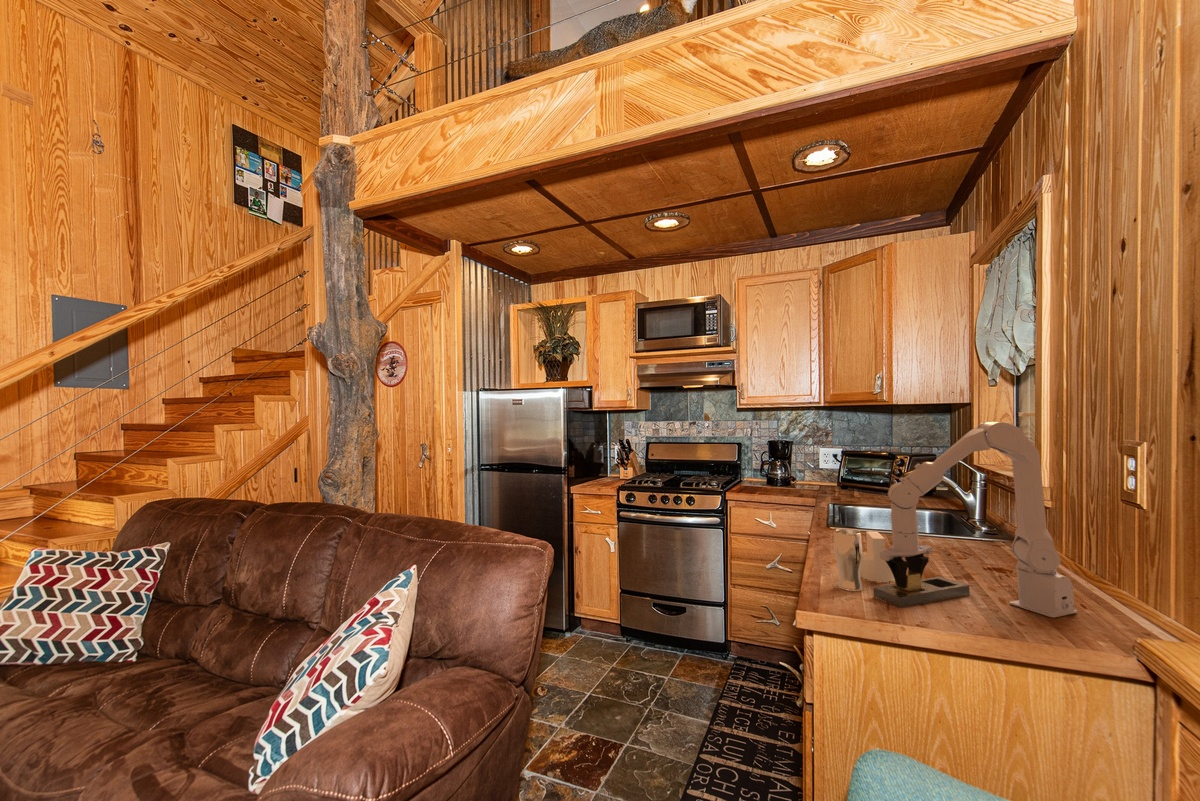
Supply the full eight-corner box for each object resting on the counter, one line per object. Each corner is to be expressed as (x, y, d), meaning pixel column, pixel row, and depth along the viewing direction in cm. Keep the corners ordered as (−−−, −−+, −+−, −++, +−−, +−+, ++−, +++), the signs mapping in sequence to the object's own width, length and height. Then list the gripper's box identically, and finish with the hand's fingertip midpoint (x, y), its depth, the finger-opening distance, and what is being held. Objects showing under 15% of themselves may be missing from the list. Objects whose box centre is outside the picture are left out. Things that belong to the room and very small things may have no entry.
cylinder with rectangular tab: (899, 583, 142) (897, 538, 143) (863, 581, 145) (861, 538, 145) (891, 573, 151) (888, 531, 151) (857, 572, 153) (854, 531, 154)
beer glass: (830, 586, 142) (827, 530, 143) (850, 582, 145) (846, 527, 145) (850, 593, 136) (847, 535, 136) (871, 589, 138) (867, 532, 139)
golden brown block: (921, 593, 129) (920, 573, 130) (908, 596, 128) (907, 575, 128) (908, 589, 133) (906, 569, 133) (895, 591, 132) (894, 571, 132)
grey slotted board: (940, 585, 139) (940, 576, 139) (969, 595, 131) (969, 585, 131) (873, 597, 132) (873, 587, 133) (900, 607, 125) (899, 597, 125)
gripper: (913, 525, 137) (917, 577, 137) (869, 531, 133) (872, 585, 133) (938, 530, 130) (941, 585, 130) (891, 536, 126) (895, 593, 126)
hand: (908, 585), depth 131 cm, fingers closed on golden brown block, 4 cm apart
